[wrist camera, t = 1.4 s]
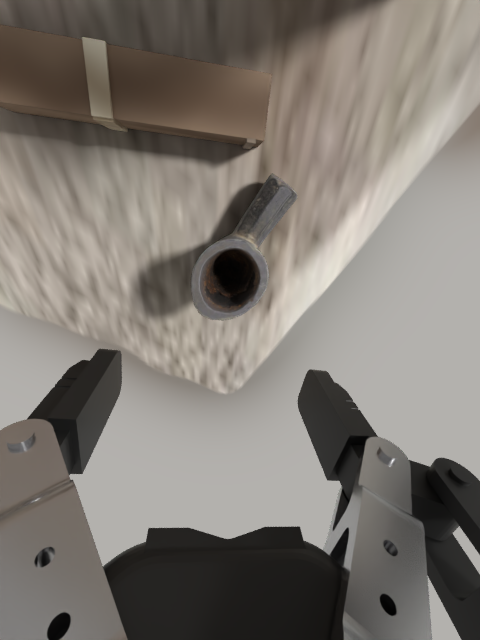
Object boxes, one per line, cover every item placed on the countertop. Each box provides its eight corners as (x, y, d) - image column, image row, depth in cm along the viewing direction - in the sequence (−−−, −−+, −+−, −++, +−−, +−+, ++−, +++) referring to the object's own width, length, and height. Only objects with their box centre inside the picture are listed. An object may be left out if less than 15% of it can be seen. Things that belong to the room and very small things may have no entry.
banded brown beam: (-1, 43, 19) (-46, 13, 16) (264, 89, 22) (273, 71, 18) (15, 116, 21) (-22, 102, 18) (257, 150, 23) (264, 144, 20)
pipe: (299, 201, 26) (332, 206, 19) (229, 300, 30) (233, 335, 23) (251, 160, 24) (266, 149, 17) (182, 272, 28) (172, 301, 21)
